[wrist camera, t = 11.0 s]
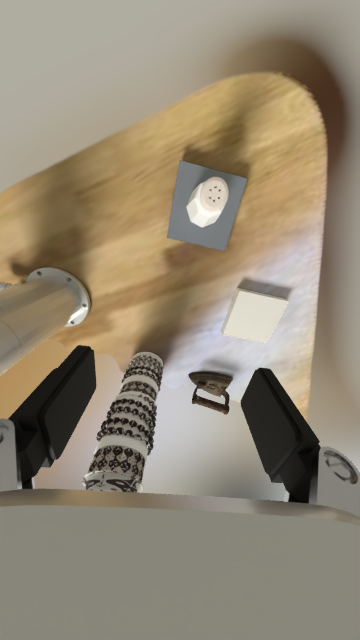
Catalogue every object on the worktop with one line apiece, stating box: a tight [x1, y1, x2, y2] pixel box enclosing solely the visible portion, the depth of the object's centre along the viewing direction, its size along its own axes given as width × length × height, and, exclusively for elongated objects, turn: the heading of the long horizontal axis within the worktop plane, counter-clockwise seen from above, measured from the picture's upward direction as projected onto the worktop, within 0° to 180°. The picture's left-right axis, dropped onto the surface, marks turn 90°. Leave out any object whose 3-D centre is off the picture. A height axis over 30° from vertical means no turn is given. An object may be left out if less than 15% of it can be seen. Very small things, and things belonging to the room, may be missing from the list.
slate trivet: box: [167, 160, 247, 251], centre depth 28 cm, size 10×10×2 cm
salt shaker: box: [186, 177, 229, 228], centre depth 22 cm, size 5×5×11 cm
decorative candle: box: [82, 352, 163, 493], centre depth 33 cm, size 9×9×25 cm
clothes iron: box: [189, 372, 233, 414], centre depth 43 cm, size 7×11×10 cm, turn 70°
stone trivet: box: [221, 288, 289, 343], centre depth 36 cm, size 10×10×2 cm
